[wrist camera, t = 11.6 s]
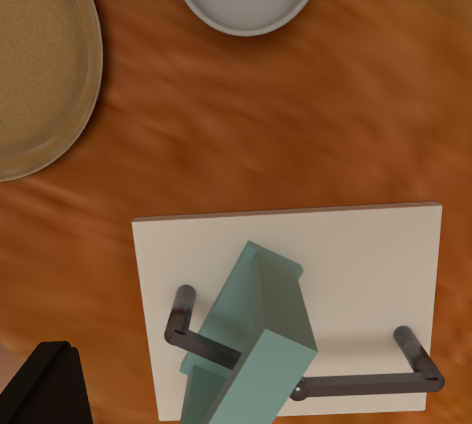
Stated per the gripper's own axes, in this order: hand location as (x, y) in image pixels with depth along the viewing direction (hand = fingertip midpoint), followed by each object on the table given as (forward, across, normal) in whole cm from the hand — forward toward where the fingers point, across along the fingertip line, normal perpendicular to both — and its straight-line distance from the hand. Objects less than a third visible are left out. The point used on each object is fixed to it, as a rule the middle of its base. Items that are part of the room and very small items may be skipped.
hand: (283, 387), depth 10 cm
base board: (+33, -2, +19) cm, 38 cm away
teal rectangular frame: (+32, +3, +18) cm, 36 cm away
